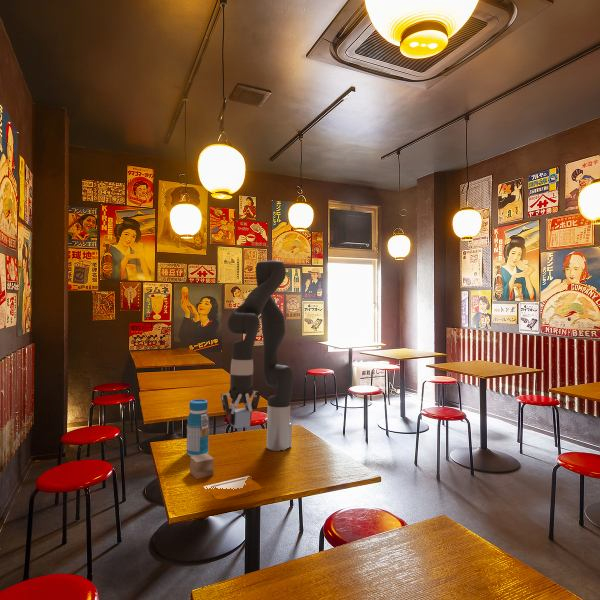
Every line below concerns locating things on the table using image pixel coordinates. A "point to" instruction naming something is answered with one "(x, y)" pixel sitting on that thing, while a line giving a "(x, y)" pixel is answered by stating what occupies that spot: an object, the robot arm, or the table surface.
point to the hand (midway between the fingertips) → (239, 423)
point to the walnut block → (201, 465)
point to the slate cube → (242, 418)
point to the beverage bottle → (197, 428)
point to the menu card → (229, 484)
